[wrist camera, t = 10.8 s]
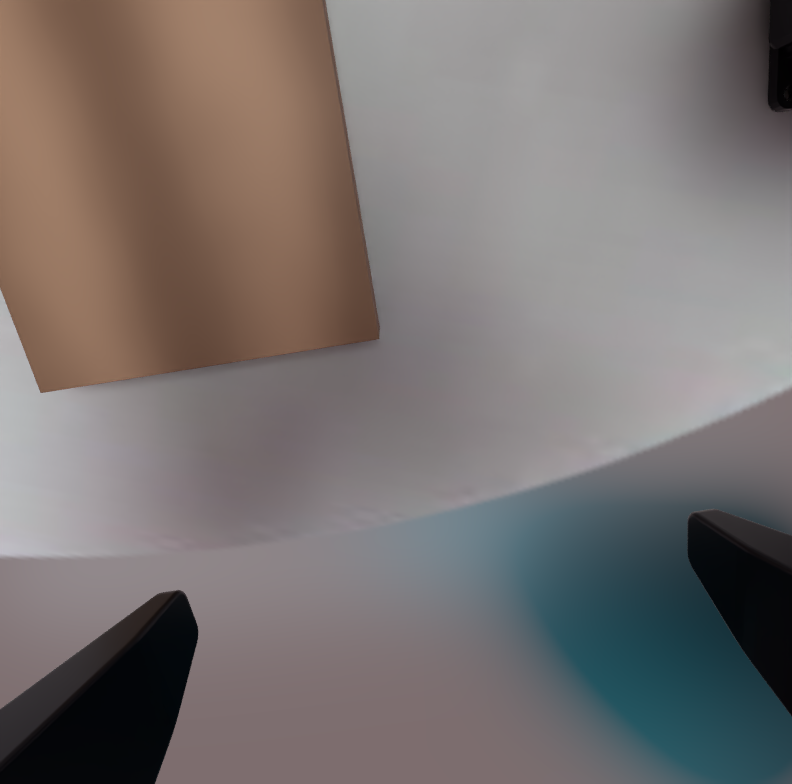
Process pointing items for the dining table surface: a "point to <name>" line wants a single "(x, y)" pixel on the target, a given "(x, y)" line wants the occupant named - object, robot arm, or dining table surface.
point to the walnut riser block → (175, 187)
